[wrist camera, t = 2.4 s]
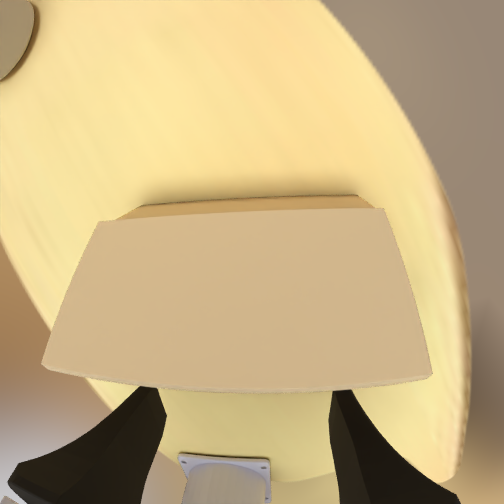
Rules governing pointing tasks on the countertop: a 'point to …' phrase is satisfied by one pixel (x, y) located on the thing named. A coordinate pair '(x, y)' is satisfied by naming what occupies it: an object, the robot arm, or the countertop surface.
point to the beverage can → (14, 32)
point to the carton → (248, 205)
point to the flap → (242, 304)
